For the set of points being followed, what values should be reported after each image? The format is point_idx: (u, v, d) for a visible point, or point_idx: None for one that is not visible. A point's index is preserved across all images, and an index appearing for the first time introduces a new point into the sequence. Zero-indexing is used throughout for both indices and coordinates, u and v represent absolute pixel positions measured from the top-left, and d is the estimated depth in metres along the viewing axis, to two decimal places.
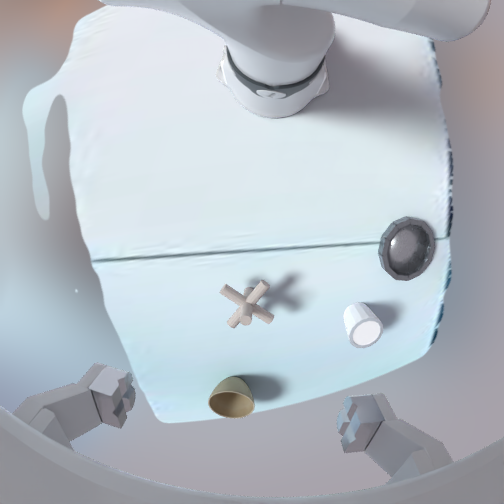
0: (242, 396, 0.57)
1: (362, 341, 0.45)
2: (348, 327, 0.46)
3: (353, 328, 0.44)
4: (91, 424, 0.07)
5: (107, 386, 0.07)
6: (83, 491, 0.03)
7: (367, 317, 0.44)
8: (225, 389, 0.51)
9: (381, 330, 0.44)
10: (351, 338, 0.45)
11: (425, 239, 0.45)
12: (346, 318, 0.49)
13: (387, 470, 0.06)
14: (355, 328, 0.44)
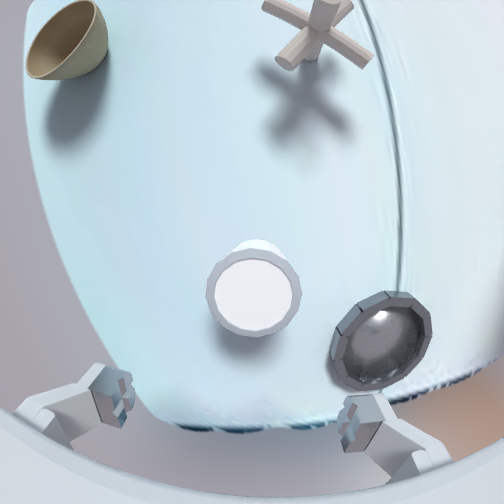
0: None
1: (226, 289, 0.19)
2: (259, 246, 0.20)
3: (273, 256, 0.18)
4: (91, 424, 0.07)
5: (107, 386, 0.07)
6: (83, 491, 0.03)
7: None
8: (99, 14, 0.14)
9: (259, 332, 0.20)
10: (240, 257, 0.19)
11: (389, 370, 0.27)
12: (263, 243, 0.23)
13: (387, 470, 0.06)
14: (273, 261, 0.18)
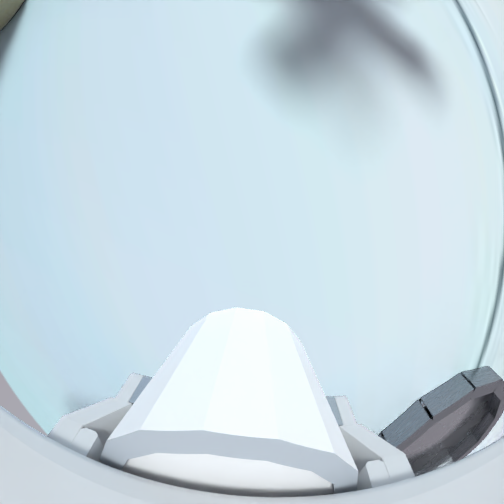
0: None
1: None
2: (242, 383, 0.06)
3: (287, 450, 0.04)
4: None
5: None
6: (83, 491, 0.03)
7: None
8: None
9: None
10: (172, 445, 0.04)
11: (437, 459, 0.13)
12: (256, 335, 0.08)
13: None
14: (286, 462, 0.04)
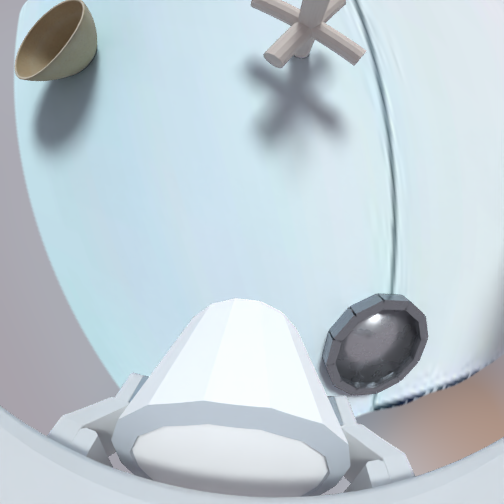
0: None
1: (159, 462, 0.06)
2: (238, 362, 0.06)
3: (278, 419, 0.05)
4: None
5: None
6: (83, 491, 0.03)
7: None
8: (87, 13, 0.14)
9: None
10: (177, 418, 0.05)
11: (384, 374, 0.27)
12: (252, 322, 0.09)
13: (347, 477, 0.06)
14: (279, 430, 0.05)
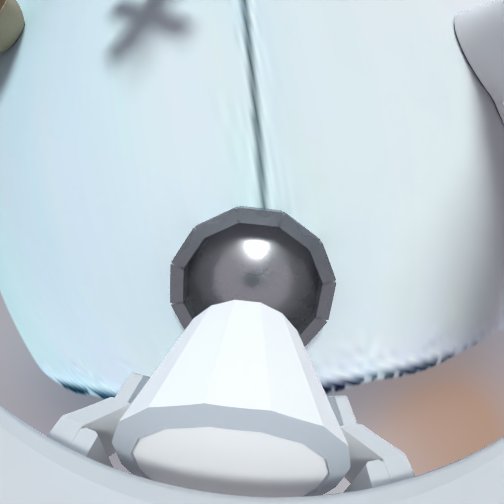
0: None
1: (160, 464, 0.05)
2: (239, 364, 0.06)
3: (279, 422, 0.05)
4: None
5: None
6: (83, 491, 0.03)
7: None
8: (9, 1, 0.08)
9: None
10: (178, 420, 0.05)
11: None
12: (252, 324, 0.09)
13: (347, 477, 0.06)
14: (279, 433, 0.05)
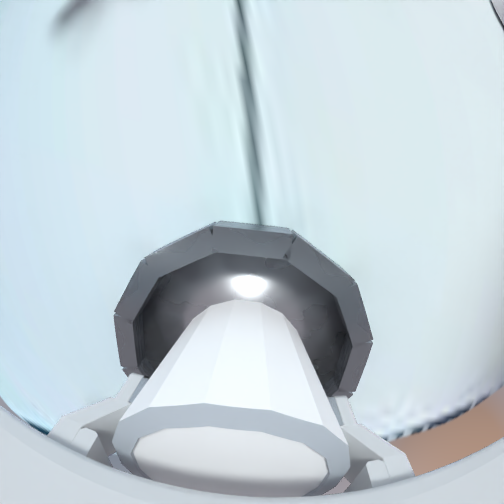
0: None
1: (160, 464, 0.06)
2: (239, 364, 0.06)
3: (279, 421, 0.05)
4: None
5: None
6: (83, 491, 0.03)
7: None
8: None
9: None
10: (178, 420, 0.05)
11: None
12: (252, 324, 0.09)
13: (347, 477, 0.06)
14: (279, 432, 0.05)
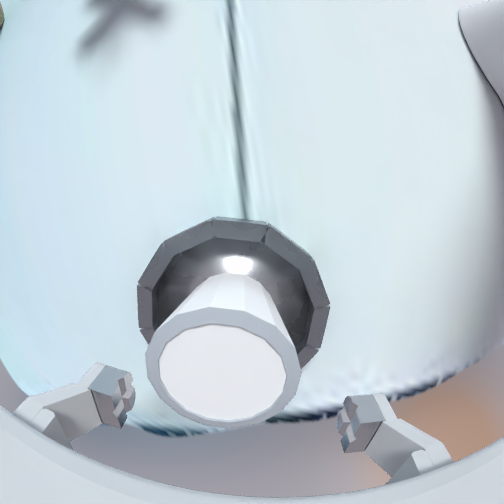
0: None
1: (176, 369, 0.11)
2: (228, 296, 0.12)
3: (249, 319, 0.10)
4: (91, 424, 0.07)
5: (107, 386, 0.07)
6: (83, 491, 0.03)
7: None
8: None
9: (236, 423, 0.11)
10: (193, 322, 0.10)
11: None
12: (237, 282, 0.14)
13: (387, 470, 0.06)
14: (250, 328, 0.10)
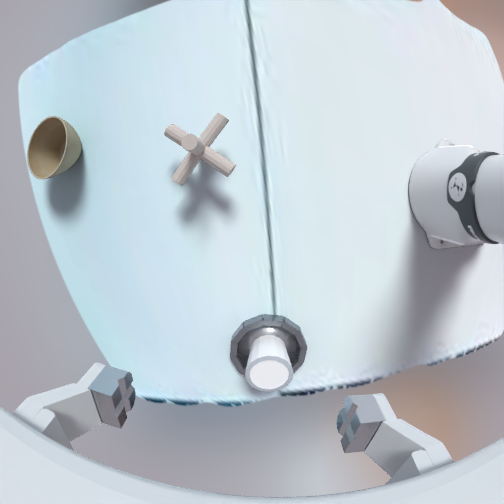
0: (54, 163, 0.35)
1: (255, 372, 0.36)
2: (271, 350, 0.37)
3: (278, 358, 0.35)
4: (91, 425, 0.07)
5: (107, 386, 0.07)
6: (83, 491, 0.03)
7: (292, 370, 0.36)
8: (69, 134, 0.30)
9: (272, 390, 0.36)
10: (262, 359, 0.35)
11: None
12: (272, 342, 0.39)
13: (387, 470, 0.06)
14: (278, 360, 0.35)
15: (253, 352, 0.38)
